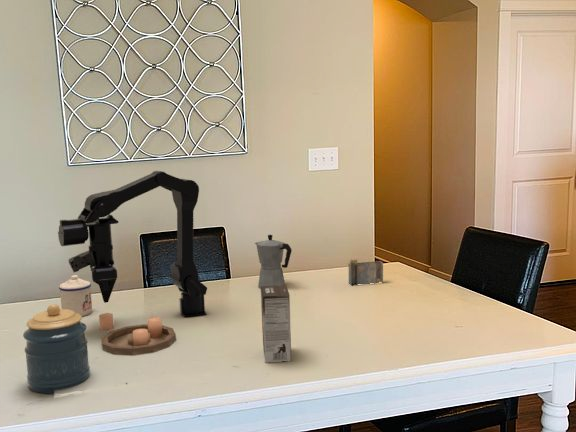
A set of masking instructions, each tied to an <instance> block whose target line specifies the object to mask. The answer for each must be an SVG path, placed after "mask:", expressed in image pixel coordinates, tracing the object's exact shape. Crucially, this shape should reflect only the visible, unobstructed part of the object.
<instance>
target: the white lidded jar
mask: <svg viewBox="0 0 576 432" xmlns="http://www.w3.org/2000/svg"><path fill="white" fill-rule="evenodd" d="M91 287H92V284H91V282H90V281H88V280H85V279H82V278H79V276H78V274H75V275H71V276H70V278H69V279H68V280H67V281H64V282H63V283H60V285H59V287H58V290H59V293H60V294H59V295H60V307H61V309H68V310H72V311H74V312H75V313H78V314H80V315H81V316H82V317H85V316H88V315H90V314H92V313H93V305H92V302H93V301H92V291H91Z"/></svg>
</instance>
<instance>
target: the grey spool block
mask: <svg viewBox="0 0 576 432" xmlns="http://www.w3.org/2000/svg"><path fill="white" fill-rule="evenodd" d="M379 282H382V283H383V284H384V262H383V261H381V260H378V261H364V262H361V261H360V262H358V258H356V259H350V260H349V263H348V285H349V284H350V285H353V284H352V283H357V284H370V283H379ZM357 284H356V285H357ZM350 285H349V286H350Z"/></svg>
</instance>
